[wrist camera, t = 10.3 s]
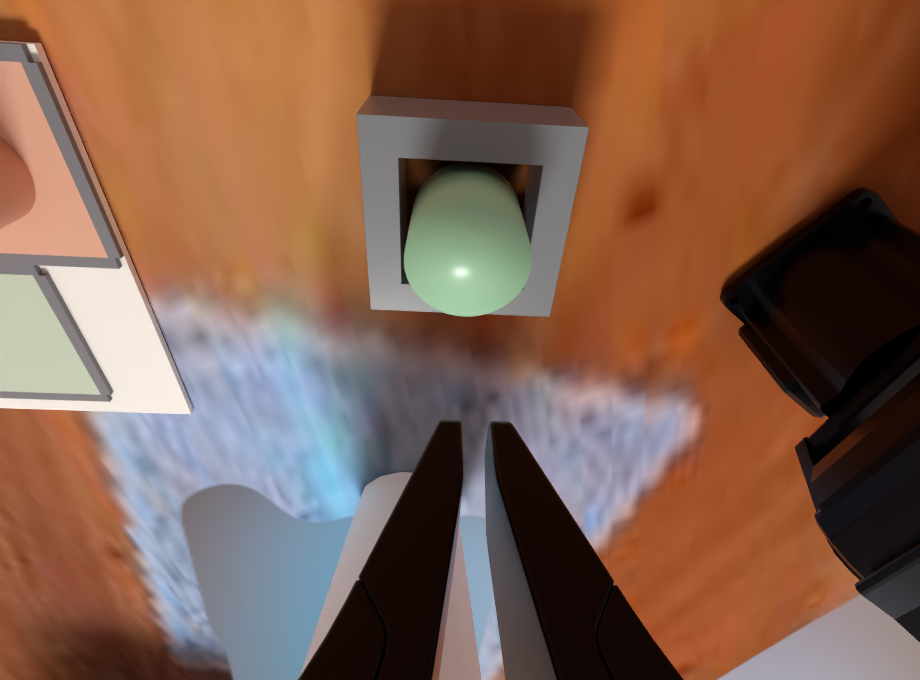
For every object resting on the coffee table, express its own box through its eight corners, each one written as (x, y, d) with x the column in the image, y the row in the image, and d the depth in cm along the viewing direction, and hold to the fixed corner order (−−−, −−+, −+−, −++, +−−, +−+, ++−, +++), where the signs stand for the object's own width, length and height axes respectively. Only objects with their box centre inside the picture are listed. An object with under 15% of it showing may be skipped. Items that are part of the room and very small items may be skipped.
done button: (527, 165, 16) (541, 205, 13) (512, 267, 18) (523, 318, 16) (411, 159, 16) (402, 198, 13) (412, 262, 18) (404, 314, 15)
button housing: (571, 107, 16) (589, 127, 14) (539, 280, 21) (549, 316, 19) (370, 95, 16) (356, 114, 14) (380, 273, 20) (370, 309, 18)
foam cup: (356, 440, 27) (295, 722, 17) (502, 475, 29) (527, 744, 19) (324, 525, 33) (264, 777, 22) (449, 549, 35) (447, 790, 24)
